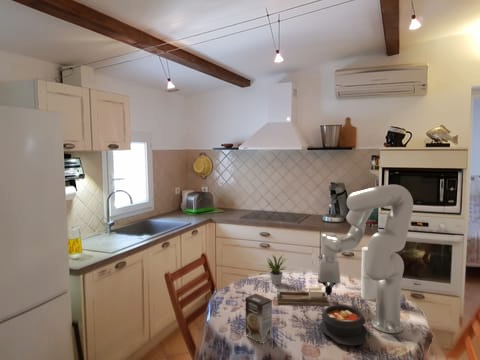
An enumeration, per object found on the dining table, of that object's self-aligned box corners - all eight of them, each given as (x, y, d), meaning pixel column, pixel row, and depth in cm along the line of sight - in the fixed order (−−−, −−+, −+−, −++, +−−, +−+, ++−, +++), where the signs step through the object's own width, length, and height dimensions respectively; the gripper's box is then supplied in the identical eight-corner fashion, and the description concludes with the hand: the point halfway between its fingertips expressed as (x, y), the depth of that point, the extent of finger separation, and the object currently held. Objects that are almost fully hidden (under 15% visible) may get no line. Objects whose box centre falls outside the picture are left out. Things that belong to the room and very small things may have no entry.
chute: (327, 305, 167) (327, 297, 167) (277, 304, 169) (277, 296, 169) (323, 295, 179) (324, 287, 179) (277, 294, 181) (277, 286, 181)
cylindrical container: (378, 300, 173) (379, 250, 170) (363, 300, 173) (364, 250, 170) (373, 294, 180) (374, 246, 177) (359, 294, 180) (359, 246, 178)
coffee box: (245, 335, 141) (244, 297, 140) (255, 329, 146) (255, 292, 144) (261, 344, 135) (261, 304, 133) (272, 338, 139) (272, 299, 138)
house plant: (290, 278, 202) (290, 251, 201) (291, 288, 189) (291, 258, 187) (266, 278, 204) (265, 250, 202) (265, 287, 190) (265, 258, 188)
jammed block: (322, 300, 170) (322, 291, 170) (310, 300, 171) (310, 291, 170) (320, 295, 176) (320, 287, 176) (308, 295, 177) (308, 286, 176)
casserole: (378, 349, 131) (378, 328, 130) (329, 351, 130) (329, 329, 129) (354, 317, 156) (354, 299, 155) (313, 318, 155) (313, 300, 154)
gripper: (314, 260, 168) (314, 297, 170) (346, 261, 167) (345, 297, 168) (312, 255, 176) (312, 290, 177) (343, 256, 174) (342, 291, 176)
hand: (328, 294), depth 173 cm, fingers closed
